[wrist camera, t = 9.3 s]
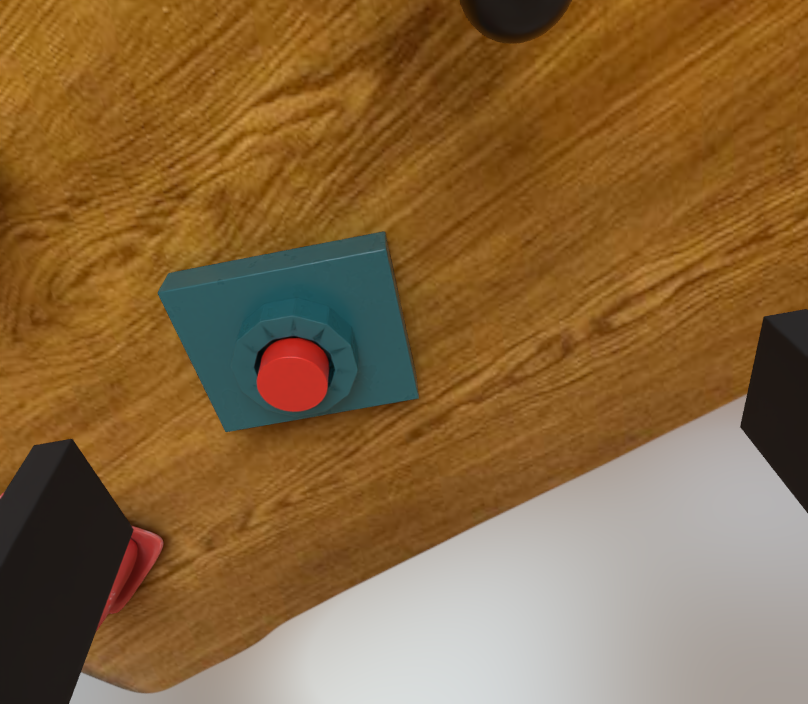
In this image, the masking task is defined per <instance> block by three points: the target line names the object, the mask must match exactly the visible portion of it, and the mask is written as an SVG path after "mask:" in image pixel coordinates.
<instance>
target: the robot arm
mask: <svg viewBox="0 0 808 704" xmlns="http://www.w3.org/2000/svg"><path fill="white" fill-rule="evenodd" d="M740 427H741V429H742V430H743V431H744V432H745V434H746V435H747V436H748V438H749V439H750V440H751V441H752V443H753V444H754V445H755V446H756V448H757V449H758V450H759V452H760V453H761V454H762V455H763V457H764V458H765V459H766V460H767V462H768V463H769V464H770V466H771V467H772V468H773V470H774V471H775V472H776V473H777V475H778V476H779V477H780V478H781V480H782V481H783V482H784V484H785V485H786V486H787V487H788V489H789V490H790V491H791V493H792V494H793V495H794V496H795V498H796V499H797V500H798V501H799V503H800V504H801V505H802V506H803V508H804V509H805V510H806V512H807V513H808V310H807V309H804V310H799V311H793V312H787V313H782V314H776V315H770V316H765V317H764V318H763V323H762V328H761V332H760V337H759V342H758V346H757V351H756V356H755V360H754V365H753V370H752V374H751V379H750V384H749V388H748V393H747V398H746V402H745V407H744V412H743V416H742V421H741V426H740ZM133 530H134V529H133V527H132V526H131V525H130V523H129V522H128V520H127V519H126V517H125V516H124V514H123V513H122V511H121V510H120V508H119V507H118V505H117V504H116V502H115V501H114V500H113V498H112V497H111V495H110V494H109V492H108V491H107V489H106V488H105V486H104V485H103V483H102V482H101V480H100V479H99V477H98V476H97V474H96V473H95V472H94V470H93V469H92V467H91V466H90V464H89V463H88V461H87V460H86V458H85V457H84V455H83V454H82V452H81V451H80V449H79V448H78V446H77V445H76V444H75V442H74V441H73V439H68V440H62V441H56V442H51V443H45V444H39V445H34V446H33V448H32V449H31V451H30V452H29V454H28V456H27V457H26V459H25V460H24V462H23V464H22V465H21V467H20V468H19V470H18V472H17V473H16V475H15V476H14V478H13V480H12V481H11V483H10V484H9V486H8V487H7V489H6V491H5V492H4V494H3V495H2V497H1V499H0V704H69V702H70V699H71V697H72V694H73V691H74V689H75V686H76V683H77V681H78V678H79V675H80V673H81V670H82V667H83V665H84V662H85V659H86V657H87V654H88V651H89V649H90V646H91V643H92V640H93V638H94V635H95V632H96V630H97V627H98V624H99V622H100V619H101V616H102V614H103V611H104V608H105V606H106V603H107V600H108V598H109V595H110V592H111V589H112V587H113V584H114V581H115V579H116V576H117V573H118V571H119V568H120V565H121V563H122V560H123V557H124V555H125V552H126V549H127V546H128V544H129V541H130V538H131V536H132V533H133Z"/></svg>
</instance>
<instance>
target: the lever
mask: <svg viewBox="0 0 808 704" xmlns="http://www.w3.org/2000/svg"><path fill="white" fill-rule="evenodd" d="M571 1H572V0H460V4H461V6H462V9H463V11H464V13H465V15H466V17H467V18H468V20H469V21H470V23H471V24H472V25H473V26H474V27H475V28H476V29H477V30H478V31H479V32H480V33H482V34H483V35H484V36H486V37H488V38H490V39H492V40H495V41H497V42H501V43H509V44H510V43H523V42H527V41H530V40H533V39H535V38H537V37H539V36H541V35H543V34H544V33H546V32H547V31H548V30H550V29H551V28H552V27H553V26H554V25H555V24H556V23H557V22H558V21H559V20H560V18H561V17H562V16H563V14H564V13H565V12H566V10H567V9H568V7H569V5H570V3H571Z"/></svg>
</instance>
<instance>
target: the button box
mask: <svg viewBox="0 0 808 704" xmlns="http://www.w3.org/2000/svg"><path fill="white" fill-rule="evenodd" d="M158 295H159V297H160V299H161V301H162V303H163V305H164V307H165V309H166V311H167V313H168V315H169V318H170V320H171V322H172V324H173V326H174V328H175V330H176V332H177V334H178V336H179V338H180V340H181V342H182V344H183V346H184V348H185V350H186V352H187V354H188V356H189V358H190V360H191V362H192V364H193V366H194V368H195V371H196V373H197V375H198V377H199V379H200V381H201V383H202V385H203V387H204V389H205V391H206V393H207V395H208V397H209V399H210V401H211V403H212V405H213V407H214V409H215V411H216V413H217V415H218V417H219V419H220V422H221V424H222V426H223V428H224V430H225V432H230V431H236V430H241V429H247V428H253V427H258V426H264V425H270V424H276V423H281V422H287V421H293V420H298V419H304V418H310V417H315V416H321V415H327V414H333V413H338V412H344V411H350V410H355V409H361V408H367V407H373V406H378V405H384V404H390V403H395V402H401V401H407V400H413V399H418V398H419V394H418V385H417V377H416V372H415V367H414V363H413V358H412V353H411V349H410V344H409V339H408V335H407V330H406V326H405V321H404V316H403V312H402V307H401V303H400V298H399V293H398V289H397V284H396V279H395V275H394V270H393V266H392V261H391V256H390V252H389V247H388V242H387V238H386V233H385V232H379V233H374V234H368V235H363V236H358V237H353V238H348V239H343V240H337V241H332V242H327V243H322V244H317V245H312V246H306V247H301V248H296V249H291V250H286V251H280V252H275V253H270V254H265V255H260V256H255V257H249V258H244V259H239V260H234V261H229V262H224V263H218V264H213V265H208V266H203V267H198V268H192V269H187V270H182V271H177V272H172V273H169V274H168V275H167V277H166V279H165V280H164V282H163V284H162V286H161V287H160V289H159V291H158ZM285 338H302V339H306V340H309V341H311V342H313V343H315V344H316V345H318V346H319V347H320V348H321V349H322V350H323V351H324V352H325V354H326V356H327V358H328V361H329V377H328V389H327V393H326V395H325V397H324V398H323V400H322V401H321V402H320V403H319V404H318V405H316V406H315V407H313V408H311V409H308V410H304V411H298V412H292V411H284V410H281V409H278V408H275V407H274V406H272V405H270V404H269V403H267V402H266V401H265V400H264V399H263V398H262V396H261V395H260V393H259V391H258V388H257V376H258V372H259V368H260V363H261V359H262V356H263V353H264V352H265V350H266V349H267V348H268V347H269V346H270V345H271V344H273V343H274V342H276V341H278V340H281V339H285Z"/></svg>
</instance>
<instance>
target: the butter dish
mask: <svg viewBox="0 0 808 704" xmlns="http://www.w3.org/2000/svg"><path fill="white" fill-rule="evenodd" d="M3 494H4V493H2V495H3ZM2 495H1V496H0V499H1V497H2ZM132 527H133V529H134V530H133V533H132V536H131V538H130V541H129V544H128V546H127V549H126V552H125V555H124V557H123V560H122V563H121V565H120V568H119V571H118V573H117V576H116V579H115V581H114V584H113V587H112V589H111V592H110V595H109V598H108V600H107V603H106V606H105V608H104V611H103V614H102V616H101V619H100V622H99V624H98V627H97V630H98V628H99V627H100V625H101V624H102V623H103V621H104V620H105V618H106V617H107V615H108V614H113V613H117V612H119V611H120V610H121V609H123V607H124V606H125V605H126V604H127V603H128V601H129V600H130V599H131V597H132V596H133V594H134V593H135V591H136V590H137V588H138V587H139V586H140V584H141V583H142V581H143V580H144V578H145V577H146V575H147V574H148V572H149V571H150V570H151V568H152V566H153V565H154V563H155V562H156V560H157V558H158V557H159V554H160V553H161V550H162V548H163V544H164V543H163V540H162V538H161V537H160V536H159V535H157V534H155V533H152V532H150V531H147V530H144V529H141V528H138V527H134V526H132ZM97 630H96V631H97Z"/></svg>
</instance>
